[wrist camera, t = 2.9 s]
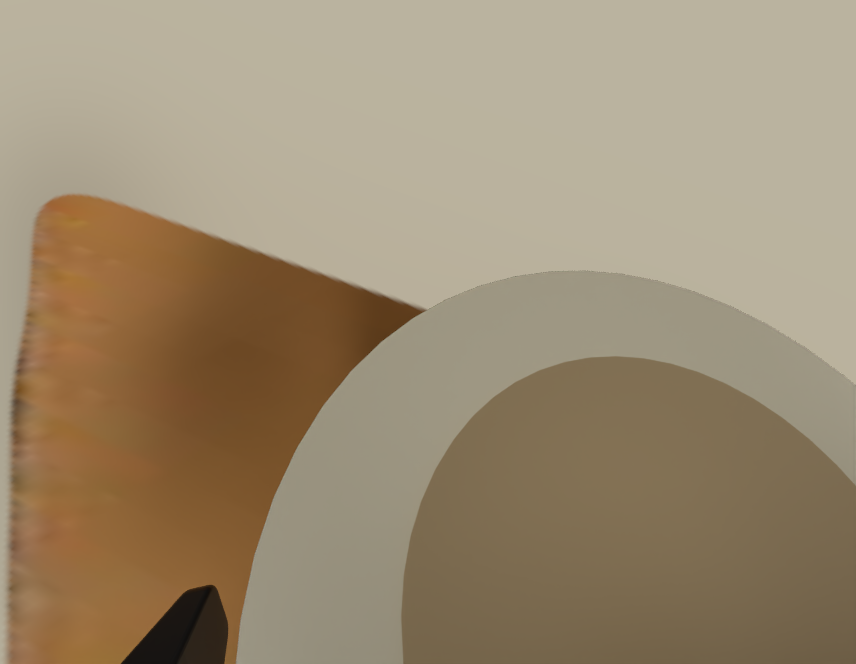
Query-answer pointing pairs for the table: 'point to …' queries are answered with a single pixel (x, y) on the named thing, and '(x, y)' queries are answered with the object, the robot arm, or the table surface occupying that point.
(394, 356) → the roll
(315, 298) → the table surface
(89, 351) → the table surface
